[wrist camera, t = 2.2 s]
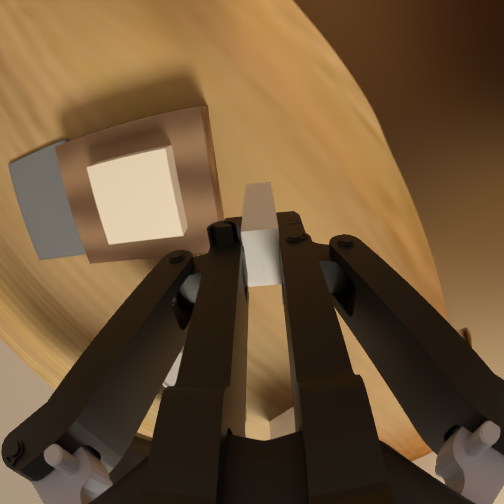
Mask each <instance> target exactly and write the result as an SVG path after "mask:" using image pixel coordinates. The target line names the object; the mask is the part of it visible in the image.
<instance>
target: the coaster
mask: <svg viewBox="0 0 504 504" xmlns="http://www.w3.org/2000/svg"><path fill="white" fill-rule="evenodd" d="M87 171H88V175H89V179H90V183H91V187H92V191H93V194H94V198H95V202H96V205H97V209H98V212H99V215H100V219H101V222H102V225H103V228H104V231H105V234H106V237H107V240H108V243H109V245H110V244H118V243H126V242H135V241H143V240H151V239H160V238H169V237H178V236H184V233H185V231H186V229H187V227H188V225H187V220H186V216H185V211H184V206H183V201H182V196H181V191H180V186H179V181H178V176H177V171H176V165H175V160H174V154H173V148H172V145H168V146H163V147H158V148H153V149H149V150H144V151H140V152H135V153H131V154H127V155H123V156H119V157H115V158H111V159H107V160H104V161H100V162H97V163H95V164H92V165H90V166H88V167H87Z"/></svg>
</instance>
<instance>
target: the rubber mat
mask: <svg viewBox="0 0 504 504" xmlns="http://www.w3.org/2000/svg"><path fill="white" fill-rule="evenodd" d="M66 142H68V139H65V140H62V141H60V142H57V143H55V144H53V145H50V146H48V147H46V148H43V149H41V150H39V151H37V152H34V153H32V154H30V155H28V156H26V157H24V158H22V159H20V160H18V161H16V162H14V163H12V164H10V165H8V166H9V171H10V175H11V179H12V182H13V186H14V190H15V193H16V197H17V200H18V203H19V207H20V210H21V213H22V216H23V219H24V222H25V224H26V227H27V230H28V233H29V235H30V238H31V241H32V243H33V246H34V248H35V251H36V253H37V255H38V258H39V260H43V259H51V258H59V257H67V256H75V255H84V254H86V252H85V249H84V246H83V244H82V241H81V238H80V235H79V232H78V230H77V227H76V224H75V221H74V218H73V214H72V211H71V208H70V205H69V201H68V198H67V195H66V191H65V187H64V184H63V180H62V176H61V172H60V168H59V164H58V160H57V155H56V150H55V147H56V146H58V145H61V144H63V143H66Z"/></svg>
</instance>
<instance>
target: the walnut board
mask: <svg viewBox="0 0 504 504" xmlns="http://www.w3.org/2000/svg"><path fill="white" fill-rule="evenodd" d="M168 145H172V148H173V154H174V160H175V165H176V171H177V176H178V181H179V186H180V191H181V196H182V201H183V206H184V211H185V216H186V220H187V225H188V227H187V229H186V231H185V233H184V236H178V237H169V238H160V239H151V240H143V241H135V242H126V243H118V244H110V245H109V243H108V240H107V237H106V234H105V231H104V228H103V225H102V222H101V219H100V215H99V212H98V209H97V205H96V202H95V198H94V194H93V191H92V187H91V183H90V179H89V175H88V171H87V167H88V166H90V165H92V164H95V163H97V162H100V161H104V160H107V159H111V158H115V157H119V156H123V155H127V154H131V153H135V152H140V151H144V150H149V149H153V148H158V147H163V146H168ZM55 150H56V155H57V160H58V164H59V168H60V172H61V176H62V180H63V184H64V187H65V191H66V195H67V198H68V201H69V205H70V208H71V211H72V214H73V218H74V221H75V224H76V227H77V230H78V232H79V235H80V238H81V241H82V244H83V246H84V249H85V252H86V254H87V257H88V259H89V262H90V264H92V263H102V262H112V261H123V260H133V259H143V258H154V257H164V256H166V255H167V254H169V253H171V252H172V251H176V250H188V251H190V252H191V253H192V254H196V253H207V252H209V248H210V243H209V238H208V233H207V227H208V226H209V225H211V224H212V223H215V222H217V221H222V220H224V214H223V207H222V201H221V195H220V188H219V182H218V175H217V168H216V161H215V155H214V148H213V141H212V134H211V127H210V119H209V112H208V106H197V107H191V108H186V109H181V110H176V111H171V112H166V113H162V114H158V115H153V116H149V117H145V118H141V119H137V120H134V121H130V122H126V123H123V124H119V125H116V126H113V127H109V128H106V129H103V130H100V131H97V132H94V133H91V134H88V135H85V136H82V137H79V138H77V139H74V140H71V141H69V142H66V143H63V144H61V145H58V146H56V147H55Z"/></svg>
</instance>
